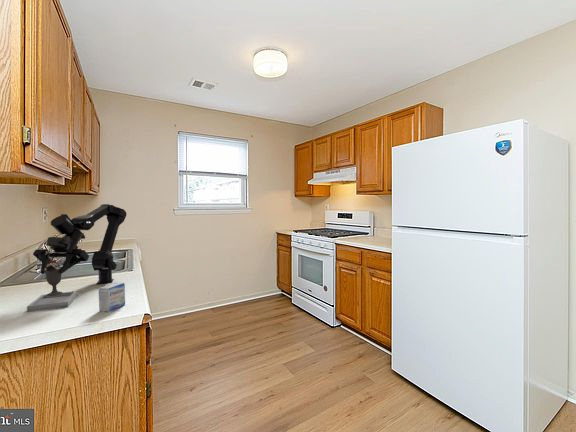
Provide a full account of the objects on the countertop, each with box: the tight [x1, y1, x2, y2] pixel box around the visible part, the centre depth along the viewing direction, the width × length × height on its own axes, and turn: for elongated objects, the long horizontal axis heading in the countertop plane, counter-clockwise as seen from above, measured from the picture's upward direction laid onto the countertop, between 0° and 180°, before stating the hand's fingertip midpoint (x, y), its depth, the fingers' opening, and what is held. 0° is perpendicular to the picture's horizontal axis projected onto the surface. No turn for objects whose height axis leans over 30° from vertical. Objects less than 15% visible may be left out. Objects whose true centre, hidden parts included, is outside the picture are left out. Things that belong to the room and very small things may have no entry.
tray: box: [26, 290, 78, 313], centre depth 112 cm, size 15×12×2 cm
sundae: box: [42, 256, 63, 296], centre depth 112 cm, size 7×7×15 cm
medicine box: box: [98, 282, 126, 313], centre depth 107 cm, size 8×4×9 cm, turn 168°
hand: (51, 273), depth 111 cm, fingers closed on sundae, 6 cm apart
